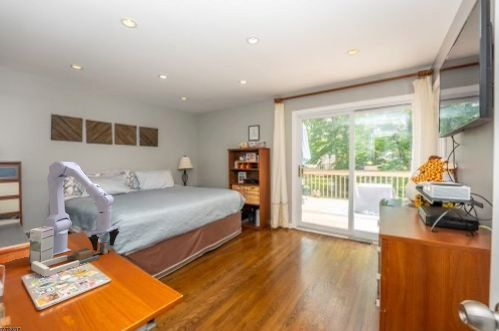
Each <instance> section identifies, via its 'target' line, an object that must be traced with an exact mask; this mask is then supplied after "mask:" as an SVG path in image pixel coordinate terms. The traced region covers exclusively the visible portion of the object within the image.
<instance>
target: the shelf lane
mask: <svg viewBox="0 0 499 331" xmlns="http://www.w3.org/2000/svg"><path fill="white" fill-rule="evenodd" d="M67 256H68V255H67V254H65V255H61V256H56V257H53V259H50V260H46V261H43V262H38V261H34V262H32V263H31V265H30V266H31V269H30V270H31V271H33V272H34V273H36V274H38V273H39V275H40V274H41V275H43V276H44V277H43V276H42V277H43V278H46V277H45V276H47V277H49V276H48V275H50V276H52V275H51V274H53V273H56V274H58V273H57V272H59V273H61V272H60V271H62V272H64V271H63V270H65V269H68V268H71V267H74V266H77V267H79V266H78V265H79V261H78V260H77V261H74V260H73V261H71V262H68V263H65V264H64V263H63V264H61V265H58V266H54V267H52V268H50V267H49V266H52V265H56V264H59V263H62V262H66V261H68V260H67ZM74 268H75V267H74ZM71 269H72V268H71ZM68 270H69V269H68ZM65 271H66V270H65ZM41 275H40V276H41ZM53 275H54V274H53Z"/></svg>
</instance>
